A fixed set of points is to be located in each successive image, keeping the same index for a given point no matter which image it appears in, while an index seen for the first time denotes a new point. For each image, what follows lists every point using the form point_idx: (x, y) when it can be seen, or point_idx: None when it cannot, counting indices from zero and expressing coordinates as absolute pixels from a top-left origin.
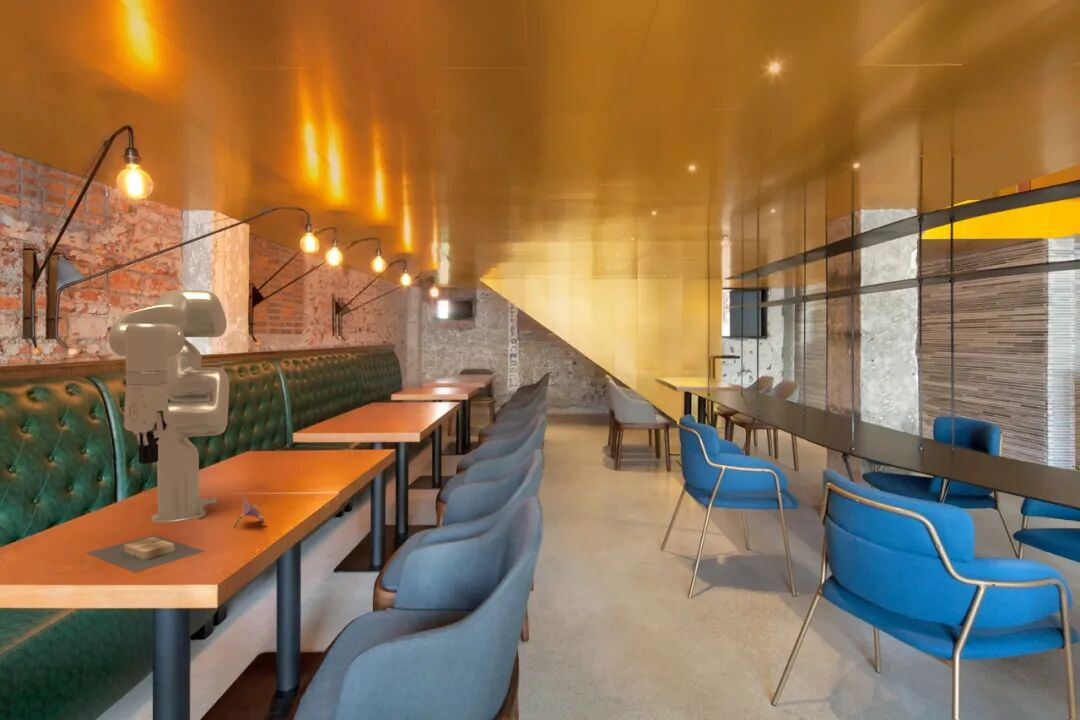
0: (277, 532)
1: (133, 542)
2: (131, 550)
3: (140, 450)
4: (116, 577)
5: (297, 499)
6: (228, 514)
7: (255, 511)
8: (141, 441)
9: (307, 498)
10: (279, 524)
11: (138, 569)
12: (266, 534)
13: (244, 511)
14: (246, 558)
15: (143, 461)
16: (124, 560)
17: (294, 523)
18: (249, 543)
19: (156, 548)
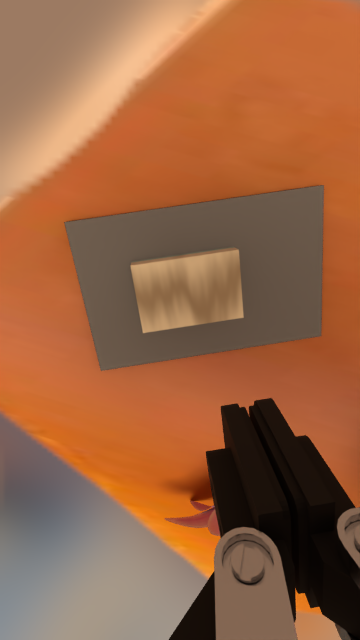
0: (135, 500)
1: (238, 271)
2: (197, 254)
3: (286, 468)
4: (92, 189)
5: None
6: (347, 482)
7: (202, 517)
8: (347, 561)
9: None
10: None
11: (80, 233)
12: (139, 483)
13: None
14: (10, 410)
15: (222, 417)
16: (177, 231)
17: (167, 536)
18: (107, 445)
19: (137, 293)
